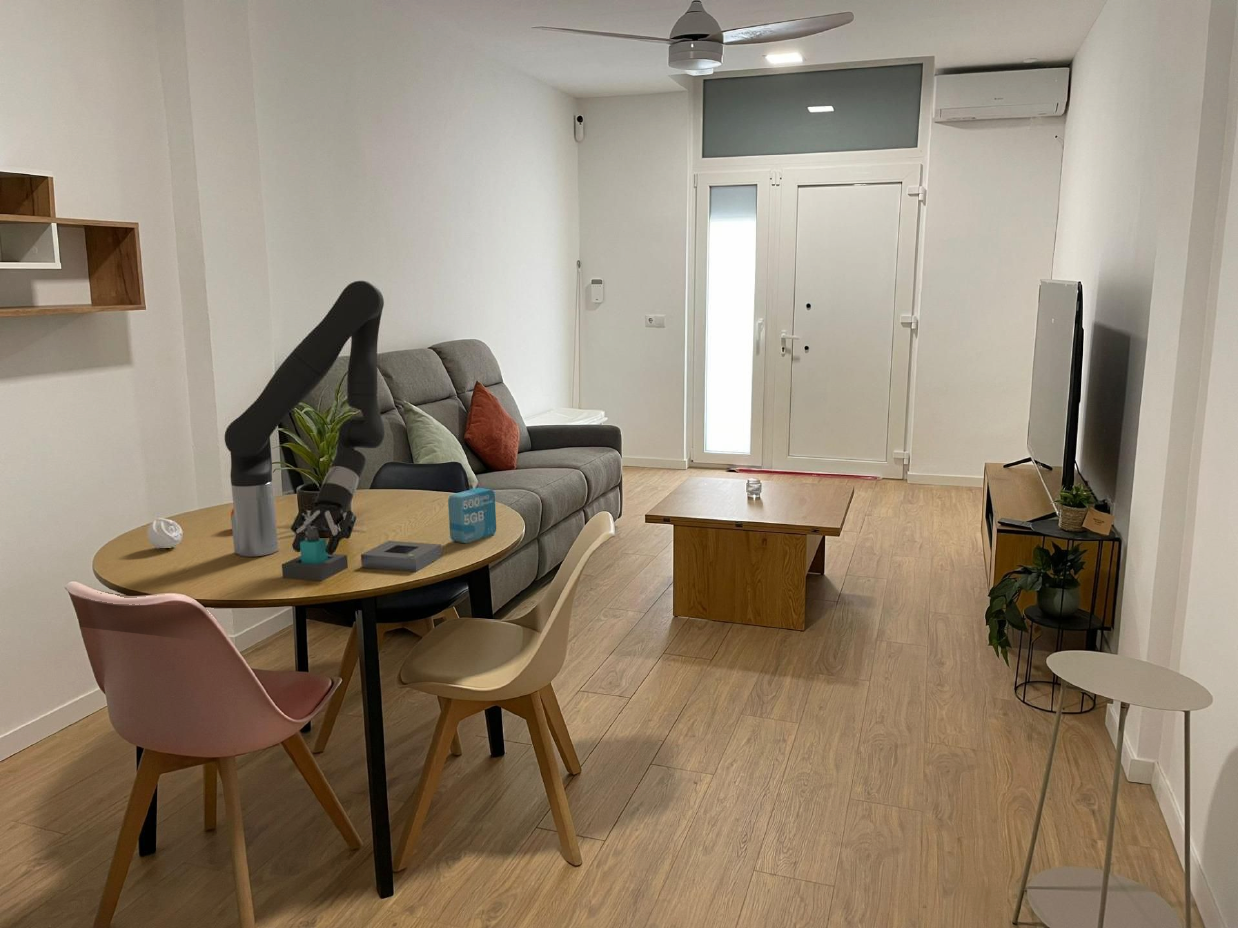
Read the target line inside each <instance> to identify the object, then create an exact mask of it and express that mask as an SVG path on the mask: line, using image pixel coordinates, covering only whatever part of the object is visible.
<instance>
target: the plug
mask: <svg viewBox="0 0 1238 928" xmlns="http://www.w3.org/2000/svg"><path fill="white" fill-rule="evenodd" d="M306 530H307V537H306V538H305V540H304V541H302V542H300V549H301V551H300V556H301V560H302V563H307V564H320V563H322V562H324V561H326V560H328V556H327V552H326V551H325V549H326V546H327V544H328V543H327V538H321V537H319V530H318V529H317V528H310V529H306Z"/></svg>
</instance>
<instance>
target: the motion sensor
mask: <svg viewBox="0 0 1238 928" xmlns="http://www.w3.org/2000/svg"><path fill="white" fill-rule="evenodd" d="M146 535H147V539H148V540H149V543H151V545H152V546H153V547H154V548H156V547H157V548H156V549H159V548H164V547H172V546H175V545H176V546H177V545H179V543H181V541H182V540H183V529H182V528H181V526H180V525H179V524H178V523H177V522H176V521H174V520H171V519H167V518H163V517H158V518H157V519H155V520H153V521H152V522H151V523H150V524H149V526H148V527H147V531H146ZM176 546H175V547H176Z"/></svg>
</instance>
